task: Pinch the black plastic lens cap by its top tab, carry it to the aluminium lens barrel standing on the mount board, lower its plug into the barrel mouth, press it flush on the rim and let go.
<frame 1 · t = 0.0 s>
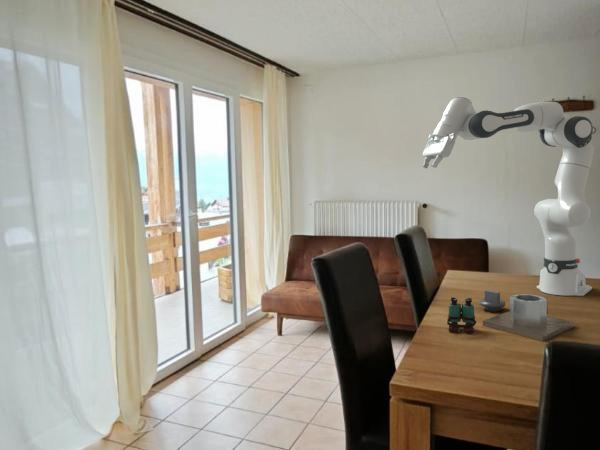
hand: (429, 167, 177), 54 cm above the table, tool tilted 30°, fingers open, 8 cm apart
lens cap: (492, 309, 167), on the table
binoculars: (461, 331, 146), on the table
lens barrel: (527, 325, 148), on the table
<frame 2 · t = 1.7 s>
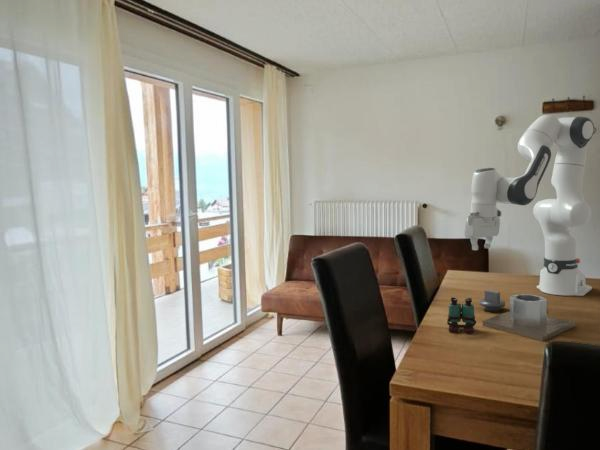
hand: (481, 249, 166), 23 cm above the table, tool pointing down, fingers open, 8 cm apart
nothing on the table moved.
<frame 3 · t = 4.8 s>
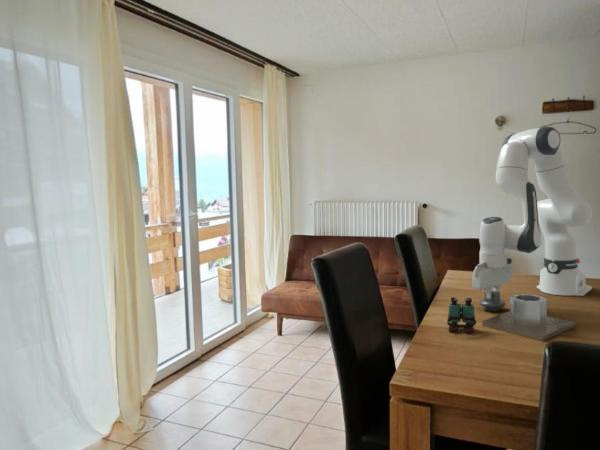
hand: (492, 297, 167), 5 cm above the table, tool pointing down, fingers closed on lens cap, 2 cm apart
lens cap: (492, 309, 167), on the table, touching gripper
everything else where it was.
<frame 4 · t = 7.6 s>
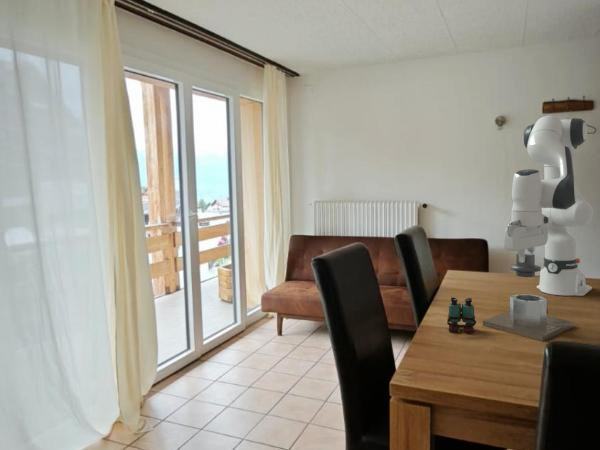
hand: (525, 261, 147), 22 cm above the table, tool pointing down, fingers closed on lens cap
lens cap: (525, 275, 147), point 17 cm above the table, touching gripper
everything else where it was.
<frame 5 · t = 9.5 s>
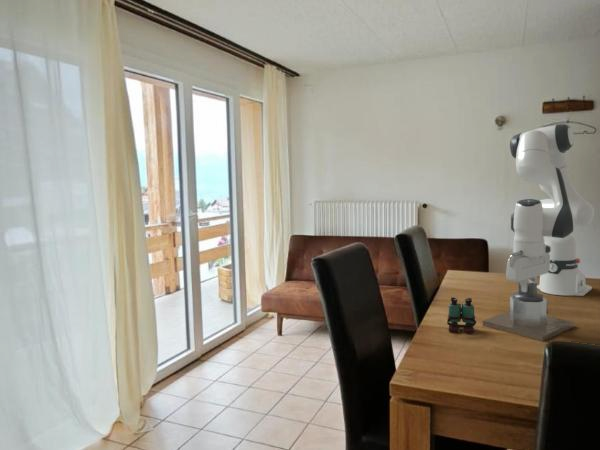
hand: (527, 290, 147), 12 cm above the table, tool pointing down, fingers closed on lens cap, 2 cm apart
lens cap: (527, 303, 147), point 7 cm above the table, touching gripper, lens barrel
everything else where it was.
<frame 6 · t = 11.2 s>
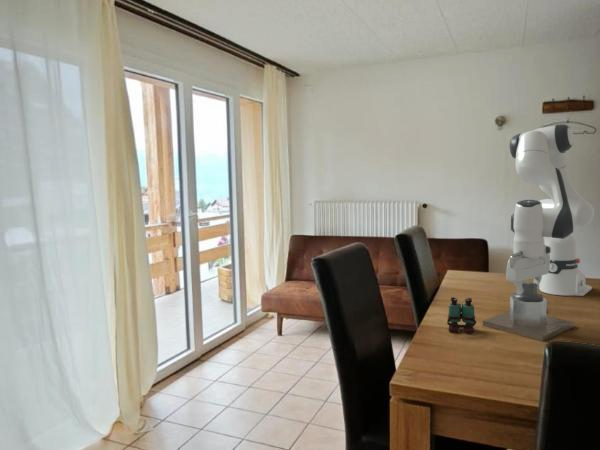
hand: (528, 291, 147), 12 cm above the table, tool pointing down, fingers open, 8 cm apart
lens cap: (527, 303, 147), point 7 cm above the table, touching lens barrel
everything else where it was.
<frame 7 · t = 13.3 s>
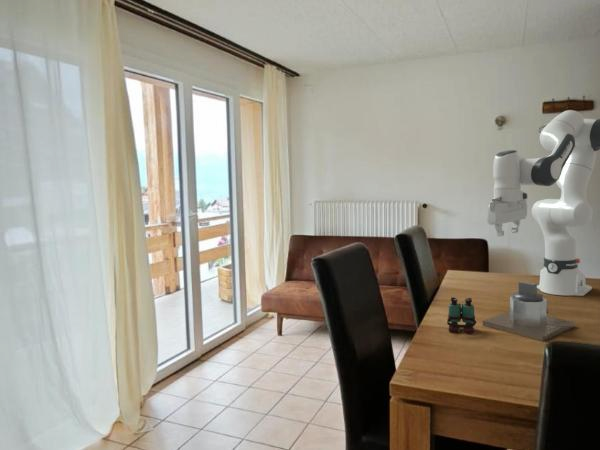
hand: (507, 234, 162), 29 cm above the table, tool pointing down, fingers open, 8 cm apart
nothing on the table moved.
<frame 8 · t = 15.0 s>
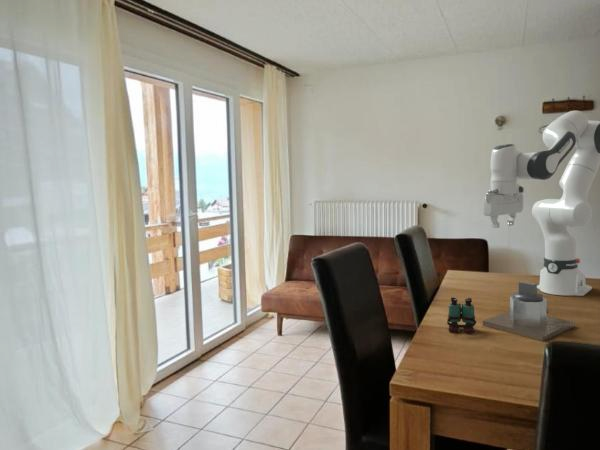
hand: (503, 226, 165), 31 cm above the table, tool pointing down, fingers open, 8 cm apart
nothing on the table moved.
at the end: lens cap 0.1 cm off-centre on the lens barrel, point 7.5 cm above the lens barrel's base; lens cap tilted 0°; the gripper is holding nothing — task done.
